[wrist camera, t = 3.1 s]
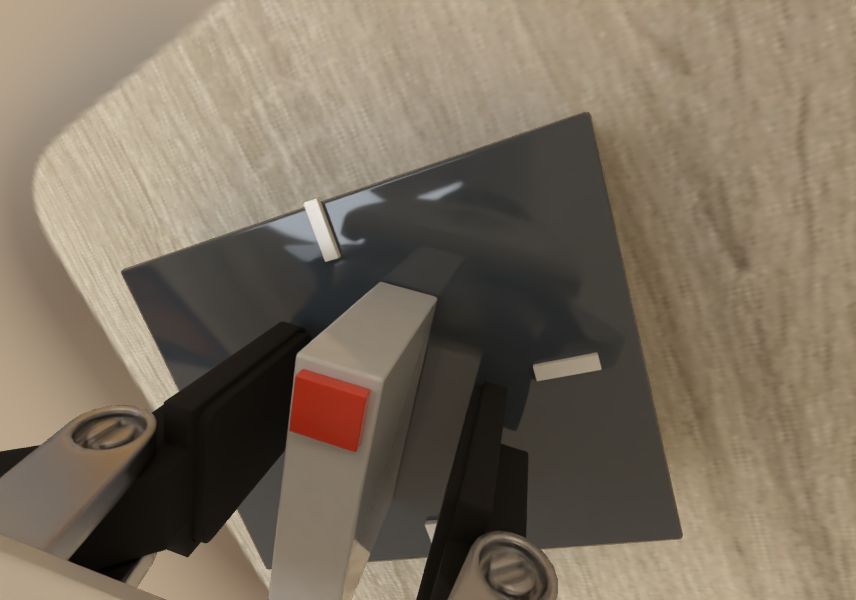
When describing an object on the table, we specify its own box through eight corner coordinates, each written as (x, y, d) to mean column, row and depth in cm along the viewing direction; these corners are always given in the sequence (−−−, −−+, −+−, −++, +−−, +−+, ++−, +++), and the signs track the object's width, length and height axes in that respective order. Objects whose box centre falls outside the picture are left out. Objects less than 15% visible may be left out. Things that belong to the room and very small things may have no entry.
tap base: (310, 504, 17) (264, 578, 14) (194, 244, 15) (111, 268, 12) (655, 464, 14) (688, 549, 11) (576, 113, 11) (590, 103, 8)
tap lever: (392, 501, 13) (325, 664, 9) (343, 485, 13) (257, 636, 9) (438, 295, 10) (379, 388, 6) (379, 280, 11) (286, 360, 7)
